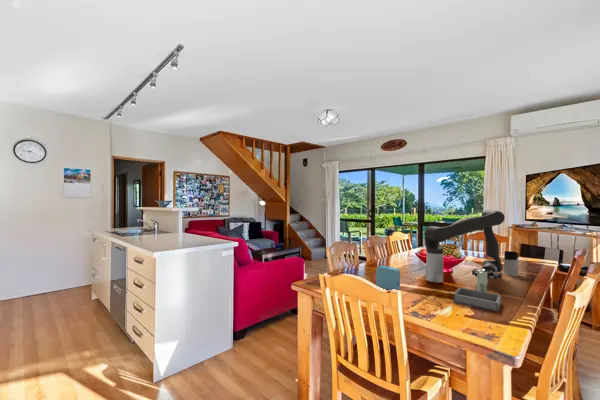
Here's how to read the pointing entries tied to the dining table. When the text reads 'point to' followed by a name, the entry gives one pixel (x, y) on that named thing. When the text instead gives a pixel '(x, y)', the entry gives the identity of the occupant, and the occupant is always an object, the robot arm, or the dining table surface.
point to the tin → (482, 281)
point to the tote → (477, 299)
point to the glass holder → (510, 263)
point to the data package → (388, 277)
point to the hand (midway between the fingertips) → (485, 276)
